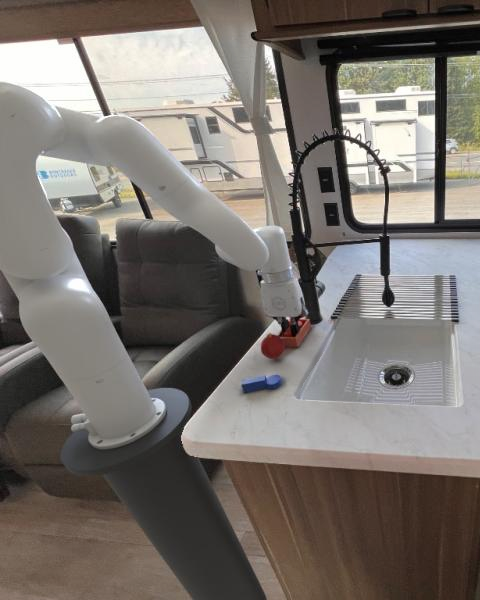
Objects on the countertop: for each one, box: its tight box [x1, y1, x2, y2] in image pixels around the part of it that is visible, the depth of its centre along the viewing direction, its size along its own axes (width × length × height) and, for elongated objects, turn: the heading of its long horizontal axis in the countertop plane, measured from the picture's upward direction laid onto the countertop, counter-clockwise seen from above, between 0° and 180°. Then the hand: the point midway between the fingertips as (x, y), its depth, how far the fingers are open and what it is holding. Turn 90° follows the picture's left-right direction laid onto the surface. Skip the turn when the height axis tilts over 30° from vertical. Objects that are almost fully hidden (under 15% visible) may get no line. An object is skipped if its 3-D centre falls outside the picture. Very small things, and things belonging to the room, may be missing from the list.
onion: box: [260, 332, 286, 360], centre depth 80 cm, size 6×6×8 cm
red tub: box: [276, 318, 312, 348], centre depth 90 cm, size 11×6×3 cm, turn 175°
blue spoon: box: [241, 374, 283, 394], centre depth 72 cm, size 8×3×2 cm, turn 106°
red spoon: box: [284, 321, 303, 337], centre depth 90 cm, size 8×3×2 cm, turn 175°
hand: (291, 333), depth 89 cm, fingers closed on red spoon, 1 cm apart
